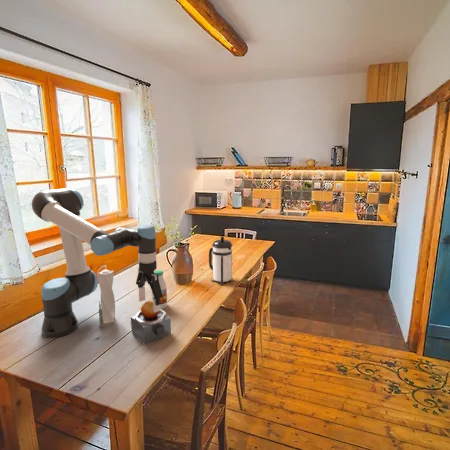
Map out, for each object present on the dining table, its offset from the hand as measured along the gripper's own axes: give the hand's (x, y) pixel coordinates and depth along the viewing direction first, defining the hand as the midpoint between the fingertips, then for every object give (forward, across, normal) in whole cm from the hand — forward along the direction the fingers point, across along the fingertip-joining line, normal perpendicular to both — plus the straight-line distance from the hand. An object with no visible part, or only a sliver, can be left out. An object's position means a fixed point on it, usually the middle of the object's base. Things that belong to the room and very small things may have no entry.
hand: (149, 305), depth 141 cm
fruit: (+6, 0, 0) cm, 6 cm away
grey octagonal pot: (+14, -2, 0) cm, 14 cm away
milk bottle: (+14, +20, -17) cm, 30 cm away
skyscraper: (+14, +24, +10) cm, 29 cm away
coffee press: (+14, +27, -65) cm, 72 cm away
